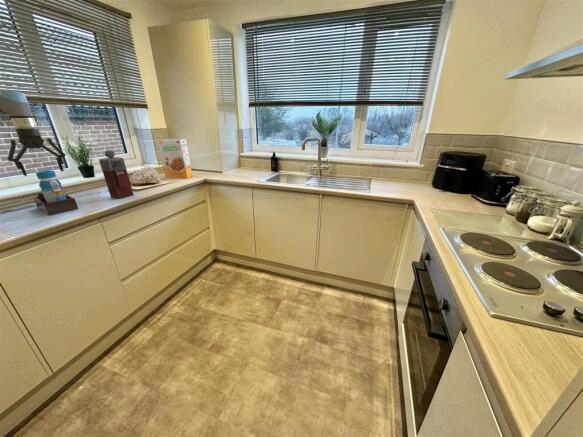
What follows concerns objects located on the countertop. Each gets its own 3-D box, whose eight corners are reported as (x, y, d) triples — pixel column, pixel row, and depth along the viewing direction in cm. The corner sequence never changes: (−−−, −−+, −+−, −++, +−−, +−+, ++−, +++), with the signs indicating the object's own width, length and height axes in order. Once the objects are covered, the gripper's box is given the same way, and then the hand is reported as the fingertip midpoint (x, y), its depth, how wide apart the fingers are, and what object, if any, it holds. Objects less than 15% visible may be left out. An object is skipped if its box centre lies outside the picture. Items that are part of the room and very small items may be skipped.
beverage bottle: (47, 212, 122) (30, 174, 114) (51, 208, 129) (36, 171, 121) (69, 209, 126) (53, 171, 118) (72, 205, 133) (58, 169, 125)
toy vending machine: (122, 199, 144) (107, 151, 133) (110, 197, 148) (95, 150, 137) (136, 195, 151) (123, 149, 141) (124, 193, 155) (111, 149, 145)
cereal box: (165, 177, 200) (157, 139, 189) (171, 175, 206) (163, 139, 195) (187, 178, 194) (180, 139, 182) (192, 176, 199) (185, 139, 188)
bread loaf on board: (151, 179, 192) (154, 162, 184) (169, 194, 189) (174, 177, 181) (114, 186, 168) (117, 166, 160) (135, 203, 165) (139, 184, 157)
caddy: (37, 207, 132) (30, 191, 129) (65, 201, 141) (58, 186, 138) (49, 215, 120) (41, 197, 116) (78, 208, 129) (71, 191, 125)
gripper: (-14, 128, 100) (9, 178, 108) (63, 127, 119) (78, 169, 127) (-16, 128, 104) (6, 176, 112) (58, 127, 123) (73, 168, 131)
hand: (44, 173), depth 120 cm, fingers open, 13 cm apart
